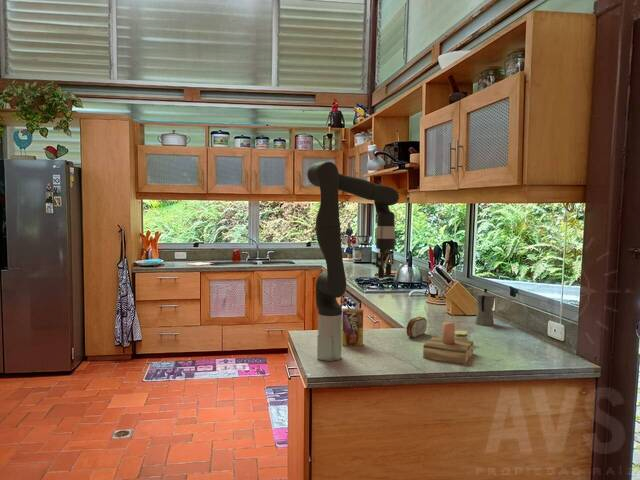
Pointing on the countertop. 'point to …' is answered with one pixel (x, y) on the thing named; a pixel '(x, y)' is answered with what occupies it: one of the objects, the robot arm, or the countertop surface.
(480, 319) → the coffeepot
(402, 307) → the countertop surface
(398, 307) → the countertop surface
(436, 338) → the plinth
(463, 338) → the stacked layers on plate
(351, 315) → the candy box
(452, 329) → the peach domed capsule
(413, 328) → the tin
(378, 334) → the countertop surface
